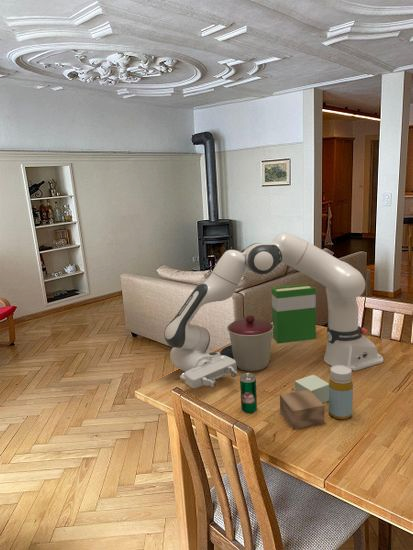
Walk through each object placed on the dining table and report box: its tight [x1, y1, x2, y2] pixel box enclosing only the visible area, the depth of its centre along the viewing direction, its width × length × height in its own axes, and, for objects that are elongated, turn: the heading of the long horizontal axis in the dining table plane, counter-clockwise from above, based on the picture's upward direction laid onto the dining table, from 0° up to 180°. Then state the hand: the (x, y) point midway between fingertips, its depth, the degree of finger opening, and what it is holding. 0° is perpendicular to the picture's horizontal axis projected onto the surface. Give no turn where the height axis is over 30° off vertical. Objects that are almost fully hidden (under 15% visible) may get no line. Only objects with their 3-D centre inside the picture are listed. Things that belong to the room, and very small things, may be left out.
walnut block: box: [279, 389, 325, 430], centre depth 126 cm, size 10×10×6 cm
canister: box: [226, 314, 274, 372], centre depth 161 cm, size 18×18×21 cm
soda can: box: [239, 372, 258, 414], centre depth 131 cm, size 5×5×12 cm
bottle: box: [328, 365, 354, 420], centre depth 125 cm, size 7×7×15 cm
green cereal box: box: [271, 283, 317, 345], centre depth 185 cm, size 18×7×24 cm, turn 98°
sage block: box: [294, 374, 329, 404], centre depth 136 cm, size 8×8×6 cm
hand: (225, 379), depth 140 cm, fingers open, 8 cm apart
